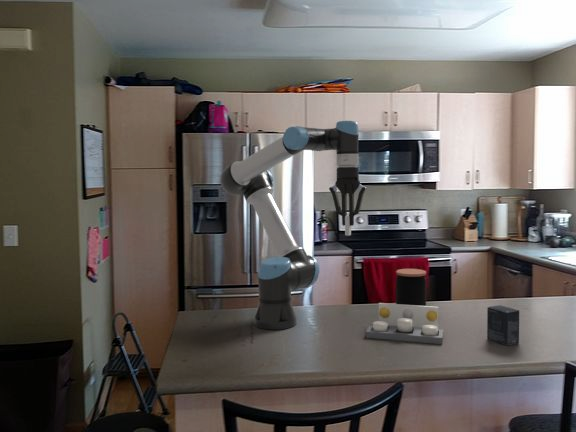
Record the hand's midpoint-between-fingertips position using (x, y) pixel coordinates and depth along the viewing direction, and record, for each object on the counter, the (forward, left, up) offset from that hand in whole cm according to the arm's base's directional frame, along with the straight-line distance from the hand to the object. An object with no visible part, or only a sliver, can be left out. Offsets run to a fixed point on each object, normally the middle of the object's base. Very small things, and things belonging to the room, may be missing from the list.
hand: (348, 234), depth 179 cm
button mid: (+20, -6, -30) cm, 37 cm away
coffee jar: (+20, +14, -33) cm, 41 cm away
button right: (+28, -6, -32) cm, 43 cm away
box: (+50, -2, -33) cm, 60 cm away
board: (+20, -6, -32) cm, 39 cm away
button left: (+12, -6, -32) cm, 35 cm away
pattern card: (+20, +4, -32) cm, 38 cm away
